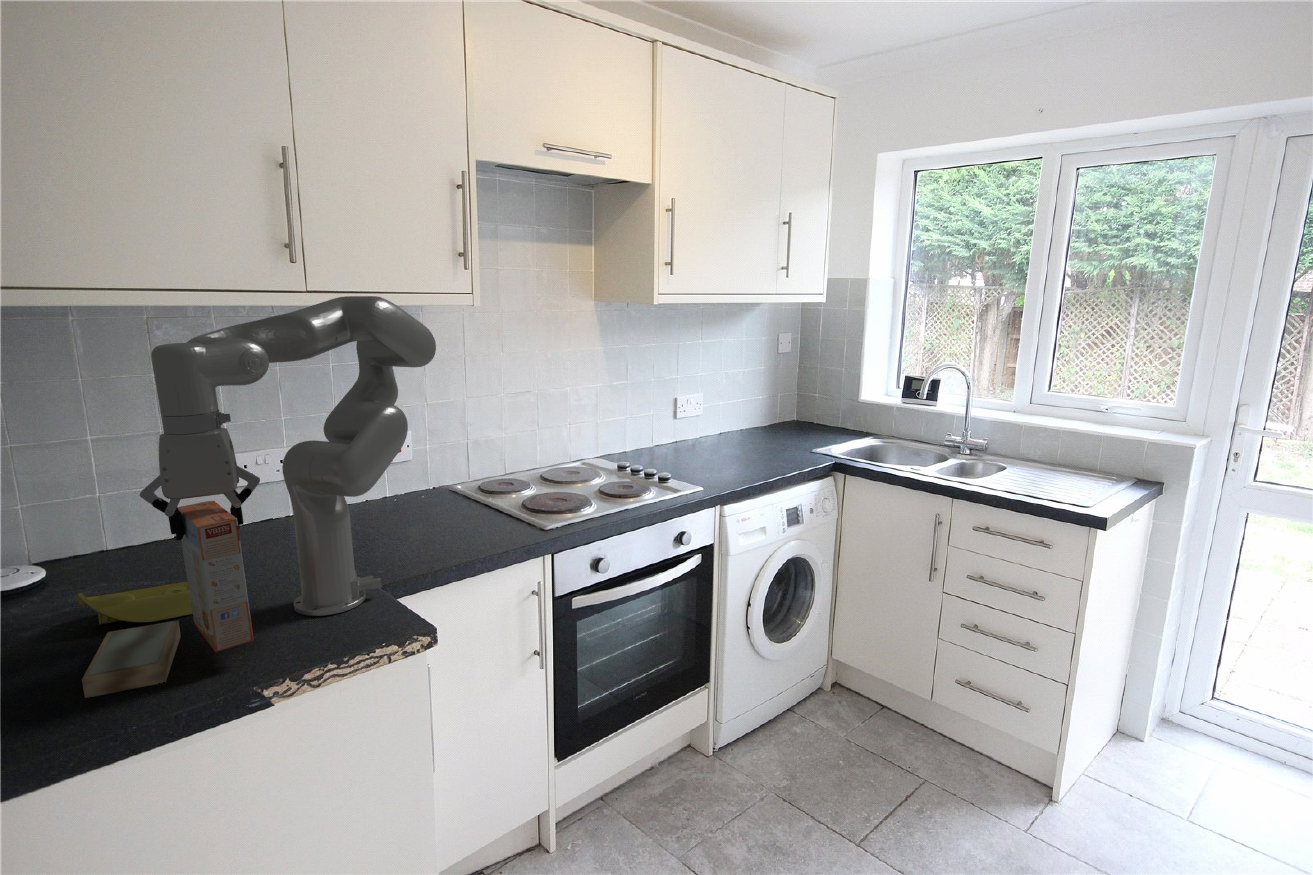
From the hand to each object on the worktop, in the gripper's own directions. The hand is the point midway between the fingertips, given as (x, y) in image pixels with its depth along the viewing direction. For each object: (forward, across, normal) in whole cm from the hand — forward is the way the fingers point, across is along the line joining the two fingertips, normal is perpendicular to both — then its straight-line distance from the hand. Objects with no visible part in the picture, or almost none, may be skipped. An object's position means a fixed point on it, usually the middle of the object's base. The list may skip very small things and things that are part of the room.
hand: (209, 532), depth 116 cm
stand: (+21, +13, -2) cm, 25 cm away
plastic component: (+22, +14, -25) cm, 36 cm away
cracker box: (+18, 0, 0) cm, 18 cm away
